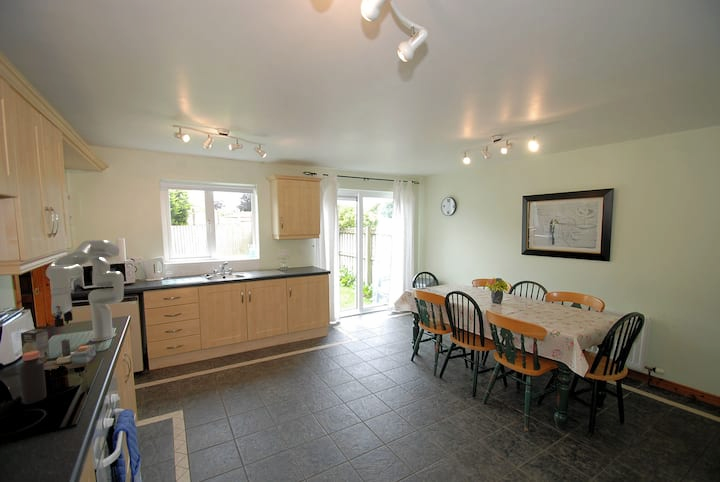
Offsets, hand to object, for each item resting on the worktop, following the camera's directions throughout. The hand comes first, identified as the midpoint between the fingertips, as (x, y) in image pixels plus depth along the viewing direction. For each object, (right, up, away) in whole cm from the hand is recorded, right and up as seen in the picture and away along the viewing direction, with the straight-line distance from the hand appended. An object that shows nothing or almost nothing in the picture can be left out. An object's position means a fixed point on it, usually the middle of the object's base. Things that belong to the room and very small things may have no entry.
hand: (64, 323), depth 157 cm
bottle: (+18, -24, -31) cm, 43 cm away
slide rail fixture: (-1, -22, +1) cm, 22 cm away
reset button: (+7, -16, +4) cm, 18 cm away
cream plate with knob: (0, -19, +1) cm, 19 cm away
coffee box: (-23, -22, +8) cm, 33 cm away
